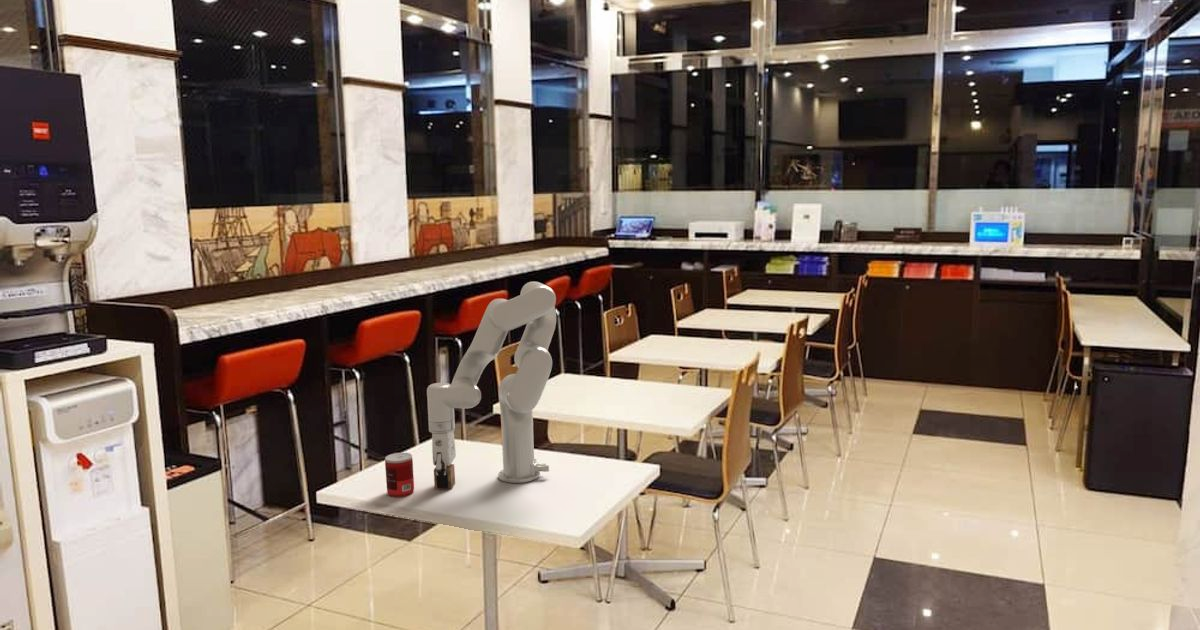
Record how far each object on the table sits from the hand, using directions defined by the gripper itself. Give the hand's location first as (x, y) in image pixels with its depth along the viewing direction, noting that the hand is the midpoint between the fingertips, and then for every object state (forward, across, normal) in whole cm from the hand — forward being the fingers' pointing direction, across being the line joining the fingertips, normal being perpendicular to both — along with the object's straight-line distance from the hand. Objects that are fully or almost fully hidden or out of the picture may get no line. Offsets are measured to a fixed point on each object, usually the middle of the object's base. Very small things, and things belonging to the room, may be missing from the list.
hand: (444, 483), depth 255 cm
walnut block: (+1, 0, 0) cm, 1 cm away
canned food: (+1, -5, +12) cm, 13 cm away
